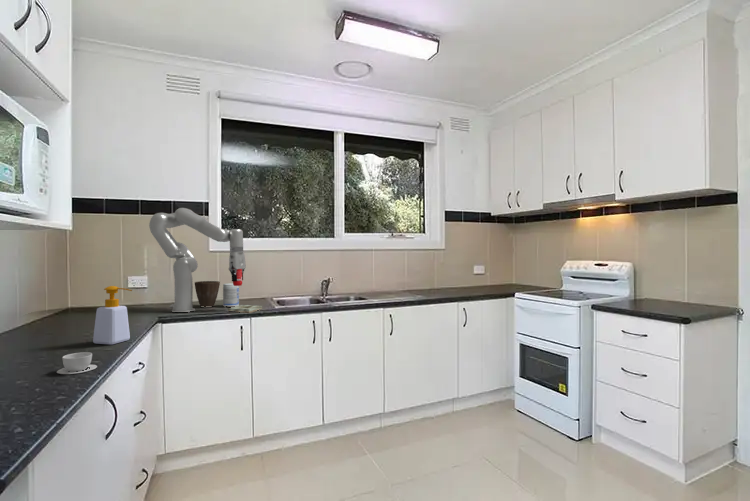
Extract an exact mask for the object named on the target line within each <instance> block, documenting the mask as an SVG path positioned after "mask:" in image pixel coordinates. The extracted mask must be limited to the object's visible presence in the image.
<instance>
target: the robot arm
mask: <svg viewBox="0 0 750 501" xmlns="http://www.w3.org/2000/svg"><path fill="white" fill-rule="evenodd" d="M184 225H185V226H187V227H190V228H191V229H193V230H195V231H197V232H198V233H201V234H202V235H204V236H205V237H208V238H210V239H212V240H214V241H216V242H219V243H222V242H223V243H228V242H229V257H228V258H229V259H228V265H229V266H228V271H229V272H230V275H231V282H233V281H237V274H236V272H237V269H242V281H244V272H245V269H246V255H245V252H244V232H243V230H242V229H239V228H233V229H225V228H220V227H219V226H216V225H214V224H212V223H211V222H209V221H208V220H207V219H206V218H205V217H204V216H202V215H199V214H198V213H195V212H194V211H193V210H192V209H190V208H186V207H179V208H178V209H175V211H174V212H171V213H166V212H156V213H154V215H152V216H151V218H150V220H149V223H148V226H149V230H150V233H151V234H152V236H153V238H154V239H155V240H156V242H157V243H158V245H159V246H160V248H161V249H162V251H163V253H164V254H165V255H166V257H168V258H170V259H175V261H174V263H173V265H172V269H173V270H172V271H173V276H174V303H172V304H170V305H169V308H171V311H172V312H188V313H191V312H190V311H194V310H195V311H196V309H195V308H193V288H194V287H193V285H194V284H193V274H192V273H194V272H195V271H197V269H198V267H199V266H198V261H197V259H196V258H195V257H194V255H193V253H192V252H191V250H190V248H188V246H187V245H185V244H184V243H183V242H179V241H177V240H176V239H175V237H174V236H173V235H172V234H171V232H170V231H168V229H172V228H177V227H180V226H184ZM233 268H235V269H233ZM234 270H235V271H234ZM195 311H194V312H195ZM172 312H171V313H172Z"/></svg>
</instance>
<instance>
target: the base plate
mask: <svg viewBox="0 0 750 501" xmlns="http://www.w3.org/2000/svg"><path fill="white" fill-rule="evenodd" d="M259 309H262V310H263V305H251V304H250V305H249V304H239V306H235V307H231V308H228V309H227V312H228V311H236V312H235V313H239V312H240V314H241V313H243V314H251V313H254V312H258V311H257V310H259ZM259 311H260V310H259Z"/></svg>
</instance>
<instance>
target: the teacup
mask: <svg viewBox="0 0 750 501" xmlns="http://www.w3.org/2000/svg"><path fill="white" fill-rule="evenodd" d="M61 358H62V364H63V367H62V368H60V369H58V370H57V371H56V373H57V374H60V375H73V374H74V375H75V374H82V373H86V372H90V371H92V370H95V369H96V368H98V365H96V364H91V363H92V359H93V353H92V352H90V351H89V352H88V351H87V352H86V351H85V352H84V351H82V352H75V353H68V354H66V355H63V356H62V357H61ZM87 367H90V369H89V368H88V369H87V370H85V369H86V368H87ZM82 370H84V371H82ZM68 371H70V372H68ZM76 371H78V372H76Z"/></svg>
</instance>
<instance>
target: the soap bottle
mask: <svg viewBox="0 0 750 501" xmlns="http://www.w3.org/2000/svg"><path fill="white" fill-rule="evenodd" d="M103 290H104V291H105V292H106V294H109V298H108V299H107V298H105V300H104V306H100V307H97V308H96V313H95V318H94V319H95V321H94V327H93V328H94V329H93V338H92V342H93V343H94V344H97V345H109V346H110V345H115V344H119V343H124V342H126V341H129V340H130V339H131V334H130V326H129V316H128V314H129V313H128V307H127V306H126V305H120V304H119V303H120V299H119V298H115V294H118V293H119V292H118V291H119V290H125V291H129V292H132V291H133V289H129V288H126V287H125V288H124V287H119V286H115V285H110V286H107V287H104V289H103Z"/></svg>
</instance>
